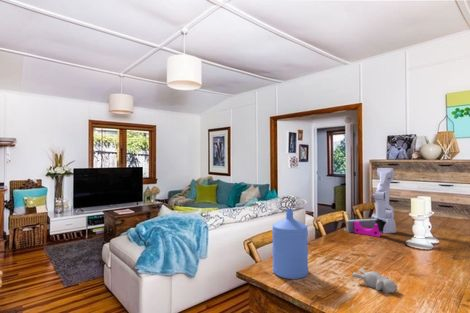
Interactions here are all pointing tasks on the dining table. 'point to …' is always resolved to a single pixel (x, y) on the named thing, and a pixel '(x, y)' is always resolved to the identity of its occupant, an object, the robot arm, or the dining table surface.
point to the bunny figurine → (376, 281)
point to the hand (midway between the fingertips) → (380, 231)
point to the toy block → (367, 230)
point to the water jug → (290, 248)
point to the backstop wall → (363, 222)
